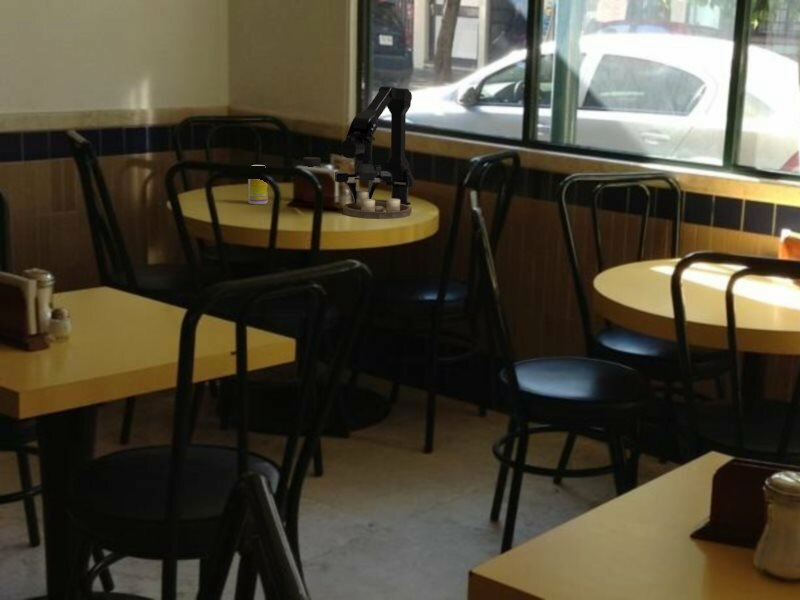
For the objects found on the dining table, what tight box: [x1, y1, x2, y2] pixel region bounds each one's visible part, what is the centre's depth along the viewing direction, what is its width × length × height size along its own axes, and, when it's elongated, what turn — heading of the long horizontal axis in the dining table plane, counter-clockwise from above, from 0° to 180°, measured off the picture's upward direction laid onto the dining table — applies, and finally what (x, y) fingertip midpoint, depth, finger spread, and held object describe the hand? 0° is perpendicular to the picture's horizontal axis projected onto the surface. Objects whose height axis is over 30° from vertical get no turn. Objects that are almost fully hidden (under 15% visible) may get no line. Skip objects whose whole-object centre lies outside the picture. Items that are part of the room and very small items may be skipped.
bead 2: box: [386, 198, 400, 212], centre depth 418 cm, size 4×4×5 cm
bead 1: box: [361, 198, 376, 212], centre depth 416 cm, size 4×4×5 cm
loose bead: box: [355, 189, 369, 208], centre depth 424 cm, size 4×4×5 cm
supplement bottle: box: [247, 164, 269, 206], centre depth 437 cm, size 7×7×13 cm
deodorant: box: [302, 156, 322, 167], centre depth 444 cm, size 6×6×15 cm
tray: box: [342, 201, 413, 220], centre depth 422 cm, size 22×22×3 cm
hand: (362, 202), depth 424 cm, fingers closed on loose bead, 4 cm apart
